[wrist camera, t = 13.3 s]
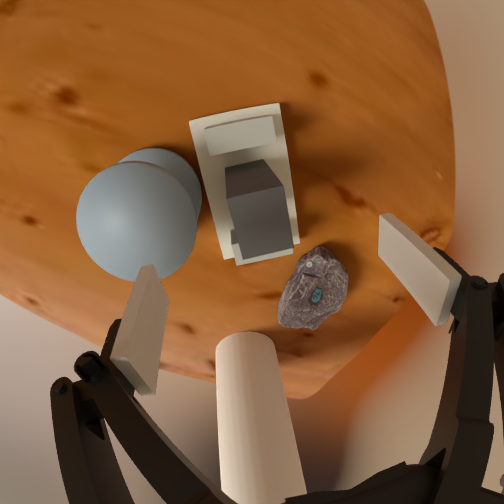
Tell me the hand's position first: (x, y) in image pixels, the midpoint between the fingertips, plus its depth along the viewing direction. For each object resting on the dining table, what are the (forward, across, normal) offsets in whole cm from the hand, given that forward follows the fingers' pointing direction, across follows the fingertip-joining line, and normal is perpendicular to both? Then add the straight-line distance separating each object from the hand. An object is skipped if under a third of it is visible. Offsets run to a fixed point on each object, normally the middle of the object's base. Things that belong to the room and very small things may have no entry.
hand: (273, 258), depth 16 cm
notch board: (+16, 0, 0) cm, 17 cm away
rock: (+17, +6, -16) cm, 24 cm away
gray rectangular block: (+15, 0, 0) cm, 15 cm away
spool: (+17, -10, 0) cm, 20 cm away
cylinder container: (+16, -5, -26) cm, 32 cm away
